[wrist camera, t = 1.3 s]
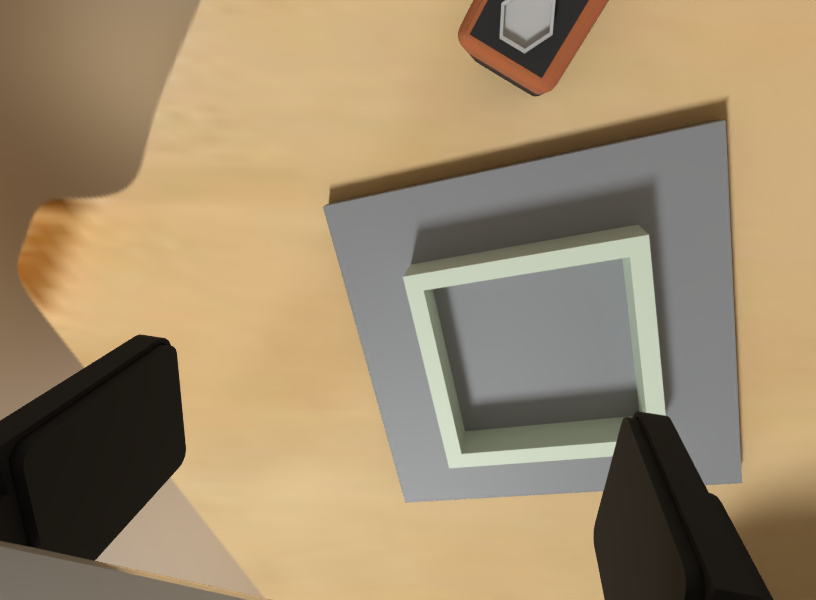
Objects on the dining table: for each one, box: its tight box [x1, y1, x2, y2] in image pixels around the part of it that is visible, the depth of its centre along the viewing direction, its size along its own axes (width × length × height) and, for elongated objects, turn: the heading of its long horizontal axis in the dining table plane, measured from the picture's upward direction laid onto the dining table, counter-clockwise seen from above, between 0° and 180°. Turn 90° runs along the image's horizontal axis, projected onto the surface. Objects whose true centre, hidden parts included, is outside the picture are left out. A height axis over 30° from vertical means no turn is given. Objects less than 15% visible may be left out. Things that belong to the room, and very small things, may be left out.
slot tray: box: [323, 120, 742, 503], centre depth 32 cm, size 22×22×4 cm
